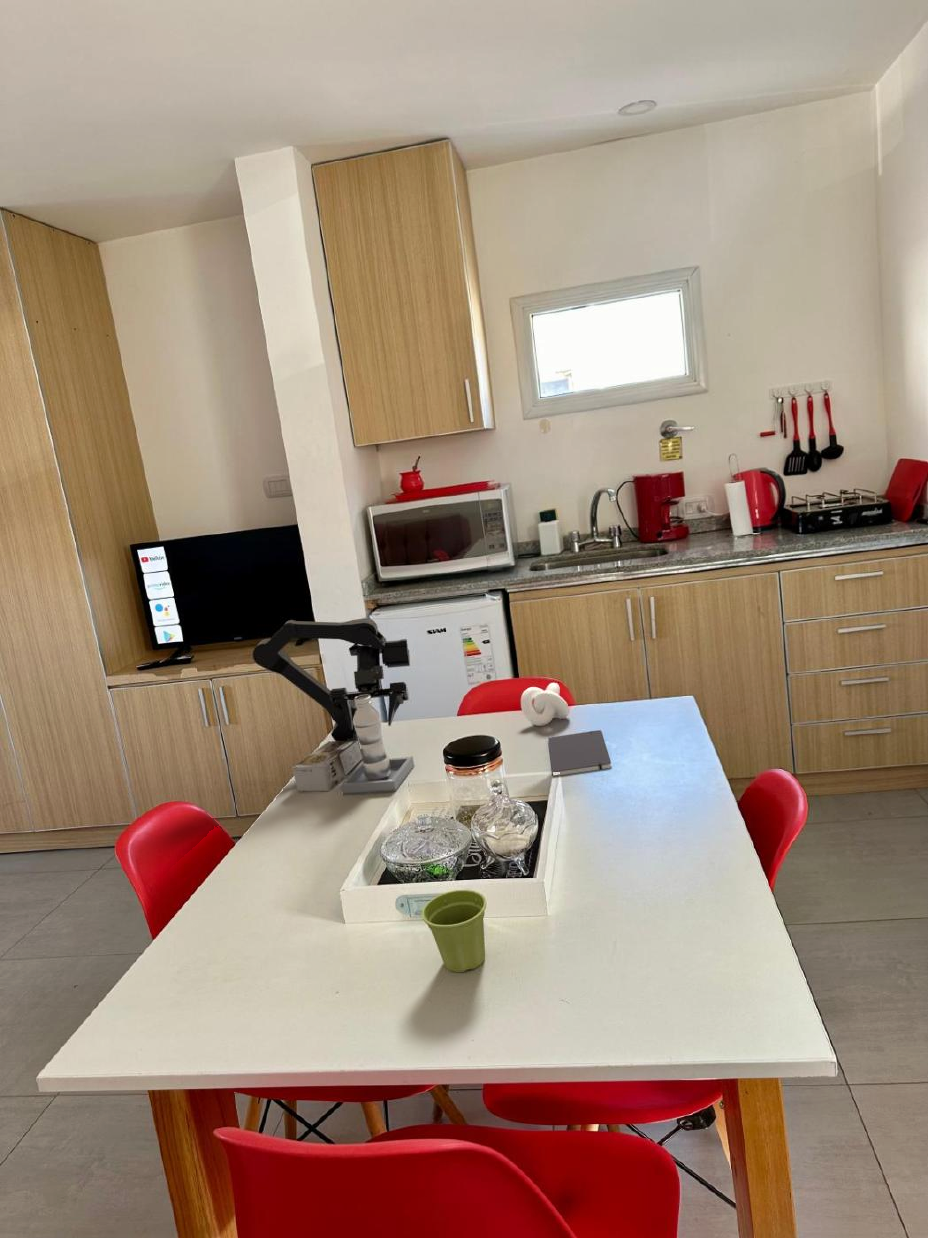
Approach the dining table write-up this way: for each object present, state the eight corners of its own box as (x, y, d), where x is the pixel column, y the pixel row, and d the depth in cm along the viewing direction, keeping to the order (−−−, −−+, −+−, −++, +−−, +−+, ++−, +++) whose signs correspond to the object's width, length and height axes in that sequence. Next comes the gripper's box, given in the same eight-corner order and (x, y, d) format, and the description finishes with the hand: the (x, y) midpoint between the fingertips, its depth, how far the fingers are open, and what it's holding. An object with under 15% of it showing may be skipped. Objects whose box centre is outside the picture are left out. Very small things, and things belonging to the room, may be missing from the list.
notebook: (549, 743, 205) (553, 778, 185) (548, 737, 205) (552, 772, 184) (602, 735, 204) (612, 770, 183) (601, 729, 204) (611, 763, 183)
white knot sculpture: (582, 714, 220) (577, 681, 218) (554, 731, 211) (548, 697, 210) (547, 710, 228) (542, 678, 226) (519, 726, 219) (513, 693, 218)
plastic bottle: (397, 772, 202) (381, 691, 198) (385, 784, 196) (368, 701, 192) (372, 772, 204) (356, 693, 200) (360, 784, 198) (343, 702, 194)
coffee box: (329, 792, 199) (364, 763, 213) (323, 766, 197) (359, 739, 211) (297, 792, 203) (334, 764, 217) (291, 767, 201) (328, 740, 215)
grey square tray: (364, 770, 208) (362, 760, 208) (414, 766, 205) (412, 756, 204) (342, 795, 195) (340, 785, 195) (396, 791, 192) (393, 781, 191)
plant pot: (475, 986, 118) (464, 930, 117) (420, 974, 124) (408, 920, 122) (508, 947, 126) (498, 894, 124) (454, 937, 131) (444, 886, 130)
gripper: (324, 658, 207) (324, 719, 199) (401, 650, 206) (404, 711, 199) (333, 677, 217) (334, 735, 209) (407, 669, 216) (410, 728, 209)
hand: (370, 727), depth 206 cm, fingers open, 9 cm apart
